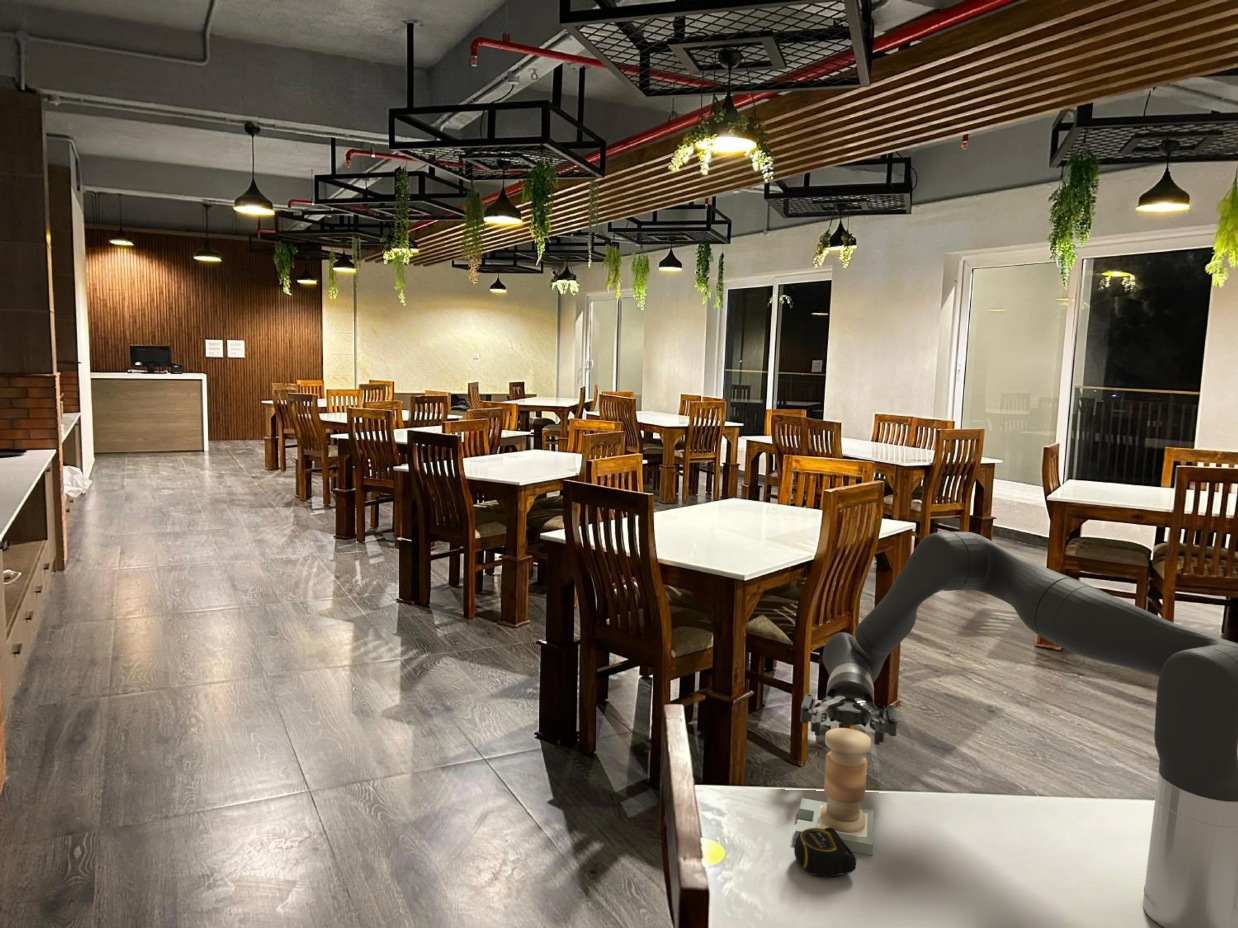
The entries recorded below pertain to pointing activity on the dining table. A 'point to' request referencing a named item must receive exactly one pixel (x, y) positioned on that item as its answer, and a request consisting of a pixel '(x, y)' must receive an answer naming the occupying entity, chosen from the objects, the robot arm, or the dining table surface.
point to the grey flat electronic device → (854, 840)
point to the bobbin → (845, 779)
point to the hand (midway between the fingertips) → (847, 734)
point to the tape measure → (823, 852)
